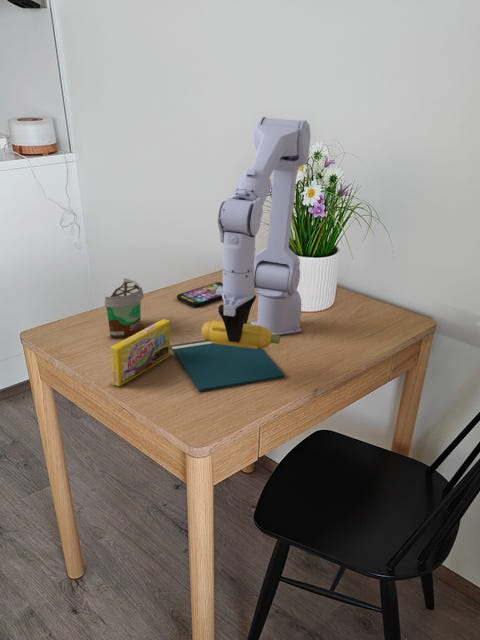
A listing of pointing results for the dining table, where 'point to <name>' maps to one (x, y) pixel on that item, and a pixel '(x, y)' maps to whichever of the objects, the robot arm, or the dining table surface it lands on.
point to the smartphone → (201, 295)
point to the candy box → (140, 352)
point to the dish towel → (224, 365)
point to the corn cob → (250, 335)
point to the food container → (124, 309)
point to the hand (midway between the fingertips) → (236, 336)
